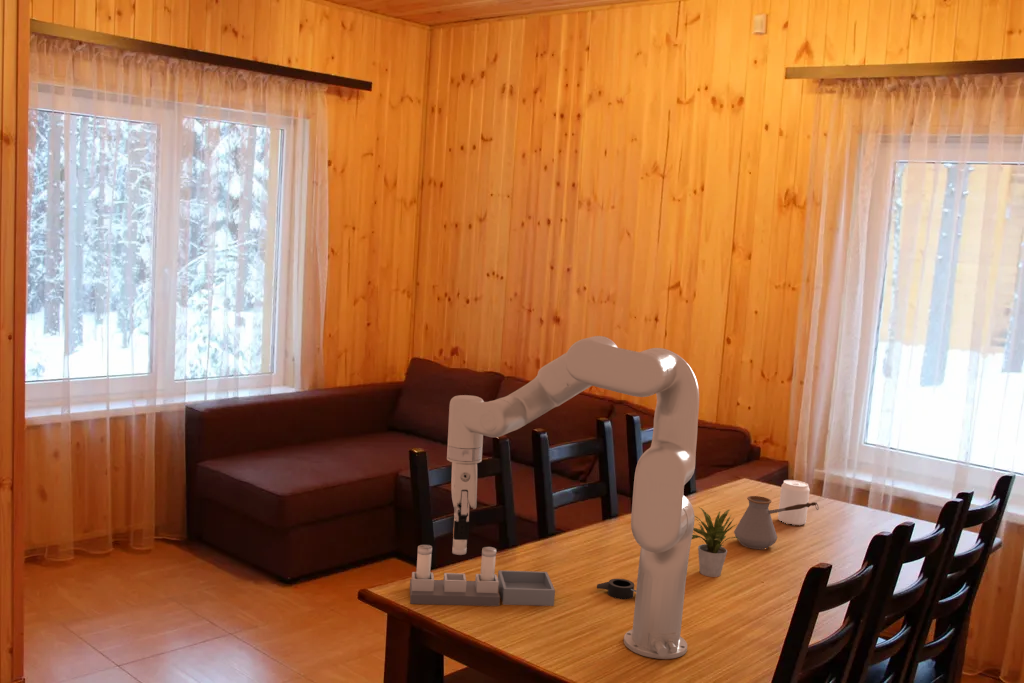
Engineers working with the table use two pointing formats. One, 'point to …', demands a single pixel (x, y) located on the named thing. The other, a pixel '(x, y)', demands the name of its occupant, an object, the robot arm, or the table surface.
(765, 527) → the coffee pot
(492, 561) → the fuse right
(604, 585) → the black ring with handle
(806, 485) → the beverage can
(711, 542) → the house plant
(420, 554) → the fuse left
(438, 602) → the block
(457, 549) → the marked fuse
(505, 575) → the tray
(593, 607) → the table surface
